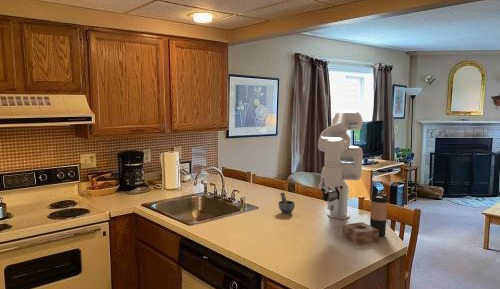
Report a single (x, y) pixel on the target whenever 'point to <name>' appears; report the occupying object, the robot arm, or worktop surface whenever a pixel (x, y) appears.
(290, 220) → the worktop surface
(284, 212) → the mortar and pestle
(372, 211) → the travel mug
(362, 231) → the block
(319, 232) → the worktop surface
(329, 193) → the peg
